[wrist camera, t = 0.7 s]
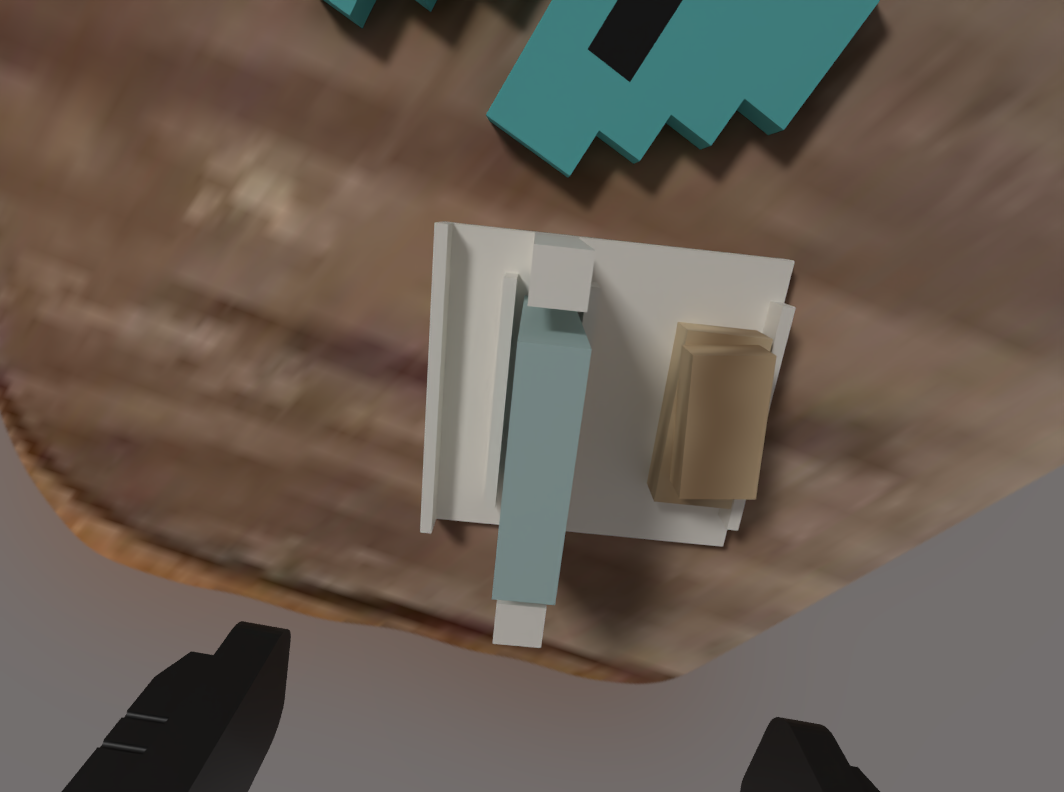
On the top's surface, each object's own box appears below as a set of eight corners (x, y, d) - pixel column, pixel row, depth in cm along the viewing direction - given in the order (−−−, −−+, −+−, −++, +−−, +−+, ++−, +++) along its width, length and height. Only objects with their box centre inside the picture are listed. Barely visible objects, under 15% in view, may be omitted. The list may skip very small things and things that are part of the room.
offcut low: (757, 330, 28) (773, 339, 26) (718, 490, 31) (730, 509, 29) (677, 321, 28) (688, 330, 26) (646, 483, 30) (654, 501, 29)
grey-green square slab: (573, 300, 27) (591, 349, 18) (549, 481, 31) (554, 605, 21) (524, 295, 27) (517, 341, 18) (506, 477, 30) (492, 599, 21)
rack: (786, 259, 28) (915, 285, 18) (717, 536, 33) (790, 671, 23) (443, 221, 27) (393, 228, 18) (428, 508, 32) (383, 633, 23)
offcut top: (759, 344, 26) (776, 355, 24) (741, 479, 28) (755, 499, 26) (681, 344, 26) (693, 355, 24) (669, 479, 28) (679, 498, 26)
